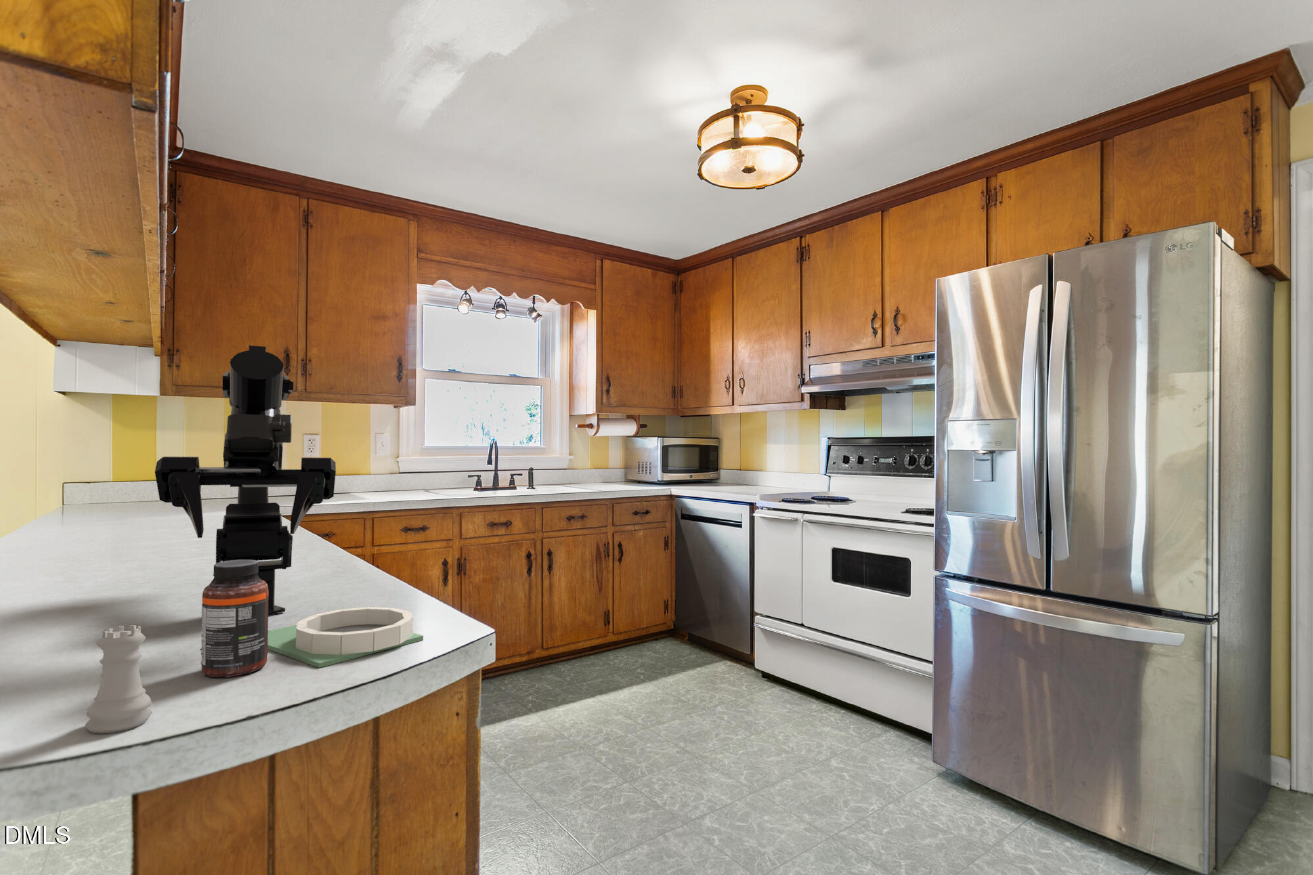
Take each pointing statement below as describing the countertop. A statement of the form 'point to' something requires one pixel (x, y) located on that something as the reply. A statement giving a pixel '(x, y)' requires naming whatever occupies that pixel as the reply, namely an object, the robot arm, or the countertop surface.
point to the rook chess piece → (119, 684)
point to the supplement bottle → (234, 620)
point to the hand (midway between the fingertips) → (247, 533)
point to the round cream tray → (353, 630)
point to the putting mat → (286, 645)
